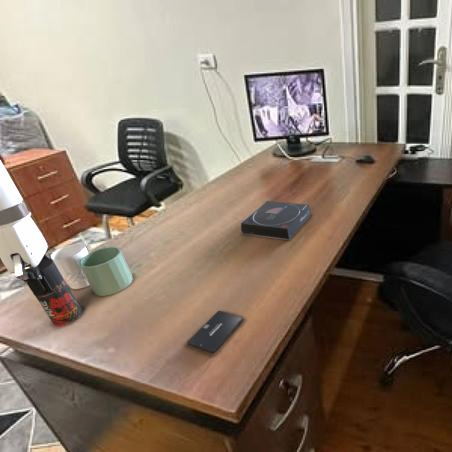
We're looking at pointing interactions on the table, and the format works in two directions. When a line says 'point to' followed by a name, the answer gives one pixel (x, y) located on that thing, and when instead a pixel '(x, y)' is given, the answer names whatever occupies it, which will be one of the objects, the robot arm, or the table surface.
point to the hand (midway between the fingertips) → (48, 284)
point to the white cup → (71, 264)
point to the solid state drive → (215, 332)
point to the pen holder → (106, 271)
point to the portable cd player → (276, 220)
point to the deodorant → (57, 295)
